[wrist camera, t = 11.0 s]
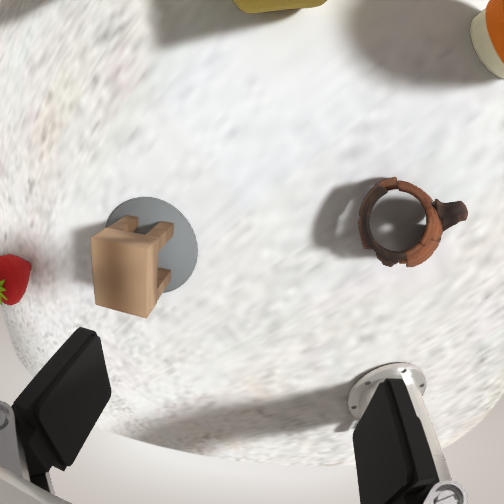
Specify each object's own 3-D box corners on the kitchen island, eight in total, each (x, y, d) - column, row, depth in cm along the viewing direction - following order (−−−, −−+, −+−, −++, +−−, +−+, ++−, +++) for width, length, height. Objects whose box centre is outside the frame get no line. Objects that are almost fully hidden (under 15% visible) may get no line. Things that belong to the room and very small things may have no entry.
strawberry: (20, 281, 41) (-19, 312, 32) (14, 238, 38) (-30, 265, 29) (45, 291, 41) (6, 325, 32) (39, 246, 38) (-6, 276, 29)
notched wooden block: (174, 222, 34) (147, 248, 27) (170, 281, 37) (146, 318, 30) (126, 214, 35) (90, 237, 27) (126, 271, 37) (95, 304, 30)
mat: (193, 300, 38) (192, 302, 38) (107, 280, 39) (106, 282, 38) (202, 205, 34) (201, 206, 33) (106, 190, 34) (104, 191, 34)
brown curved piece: (380, 274, 36) (370, 284, 28) (355, 199, 37) (338, 190, 30) (471, 242, 30) (485, 243, 23) (443, 164, 31) (449, 145, 24)
